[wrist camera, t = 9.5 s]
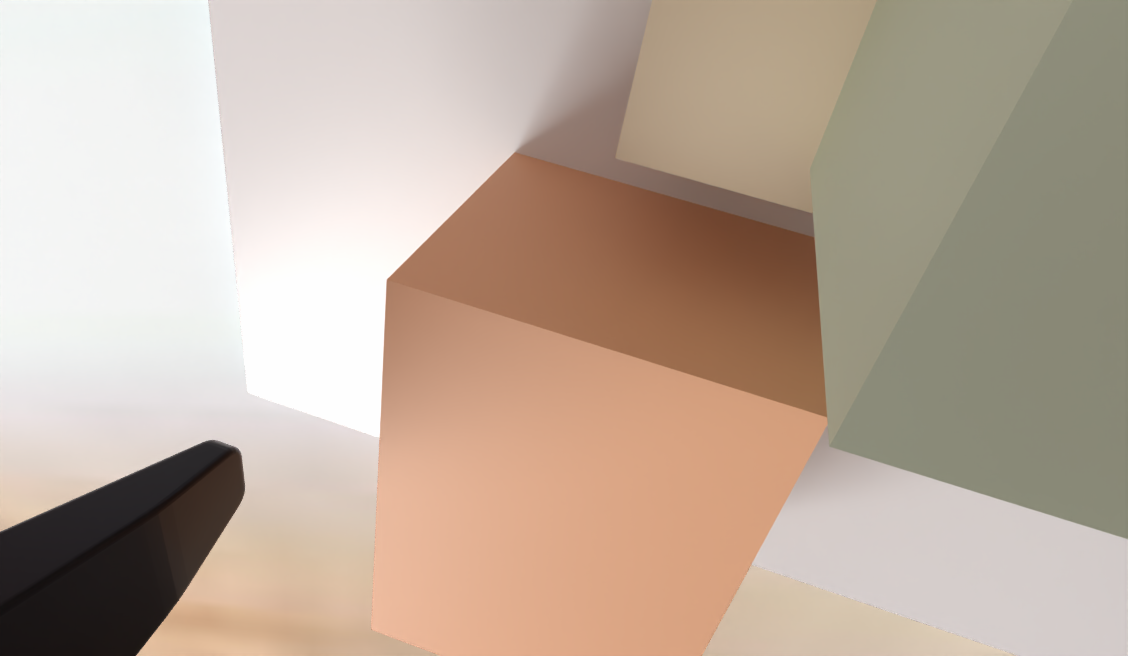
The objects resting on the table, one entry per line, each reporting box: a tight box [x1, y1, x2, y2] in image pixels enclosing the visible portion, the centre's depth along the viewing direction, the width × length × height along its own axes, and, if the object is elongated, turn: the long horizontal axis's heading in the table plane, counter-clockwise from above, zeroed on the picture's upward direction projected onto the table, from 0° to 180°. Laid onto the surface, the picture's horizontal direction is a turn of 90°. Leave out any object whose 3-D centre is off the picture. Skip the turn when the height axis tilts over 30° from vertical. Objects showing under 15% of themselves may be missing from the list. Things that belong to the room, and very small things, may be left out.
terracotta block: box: [371, 152, 828, 656], centre depth 11 cm, size 5×7×4 cm
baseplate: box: [208, 0, 1128, 656], centre depth 10 cm, size 24×20×1 cm
